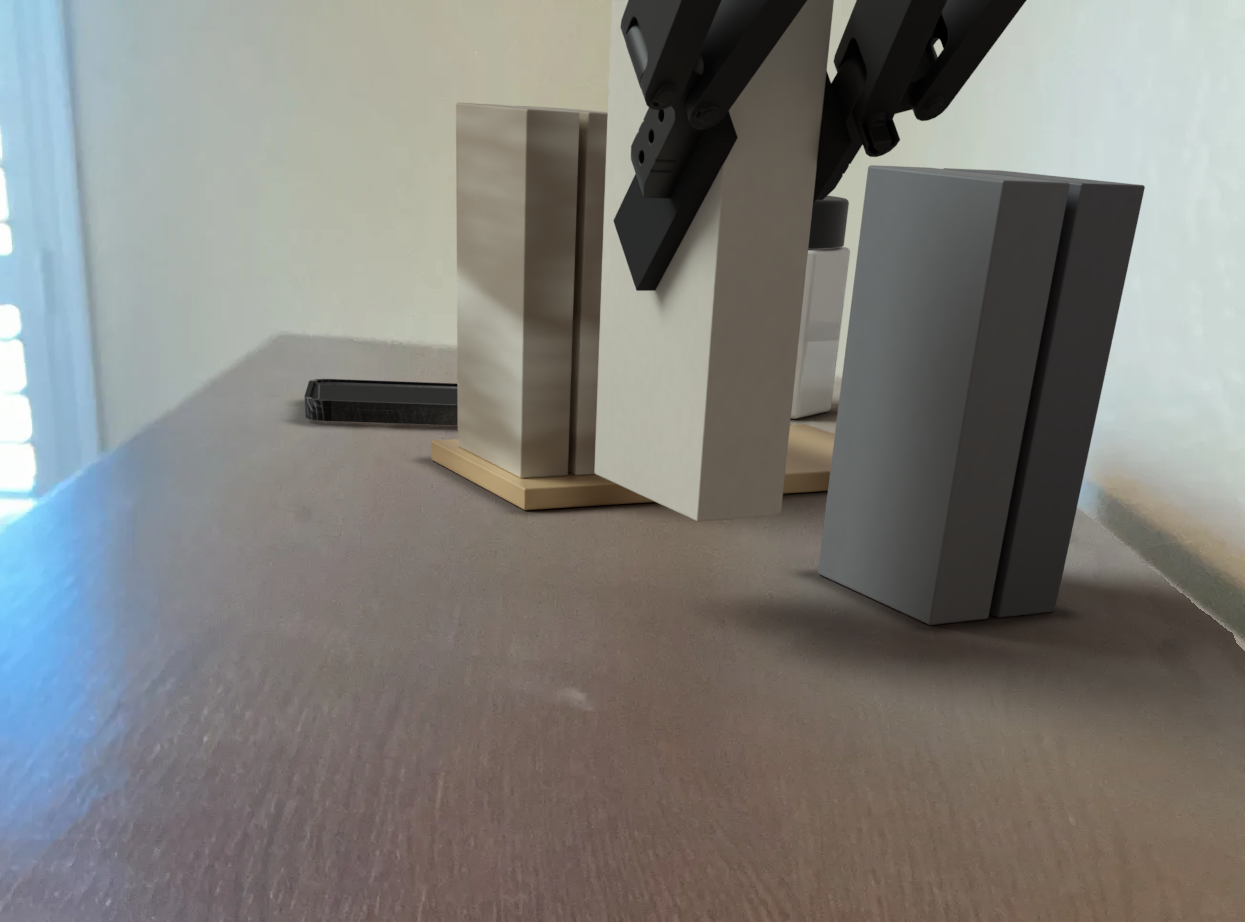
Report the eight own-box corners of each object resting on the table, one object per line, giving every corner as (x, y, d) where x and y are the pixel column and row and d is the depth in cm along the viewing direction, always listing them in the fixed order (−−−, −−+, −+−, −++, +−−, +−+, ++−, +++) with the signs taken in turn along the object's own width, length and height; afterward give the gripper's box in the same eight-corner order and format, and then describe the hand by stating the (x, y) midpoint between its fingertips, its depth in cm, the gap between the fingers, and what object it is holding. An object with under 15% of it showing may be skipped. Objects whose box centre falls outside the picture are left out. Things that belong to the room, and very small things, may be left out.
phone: (309, 378, 94) (552, 386, 96) (311, 398, 95) (551, 406, 96) (303, 400, 88) (563, 408, 89) (304, 421, 88) (562, 429, 90)
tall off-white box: (672, 469, 60) (702, -2, 52) (781, 515, 55) (835, -5, 46) (593, 474, 59) (611, -9, 50) (696, 522, 53) (736, -14, 45)
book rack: (803, 442, 91) (840, 123, 82) (925, 485, 83) (981, 133, 74) (430, 460, 82) (425, 100, 73) (524, 511, 73) (531, 110, 64)
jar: (829, 402, 104) (853, 196, 97) (832, 423, 97) (859, 203, 91) (698, 392, 105) (714, 187, 98) (692, 413, 98) (708, 194, 91)
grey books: (936, 563, 69) (1001, 171, 60) (1055, 612, 63) (1146, 185, 54) (816, 574, 66) (867, 165, 58) (929, 626, 60) (1003, 180, 52)
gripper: (871, -502, 28) (500, 358, 49) (1467, -356, 35) (913, 347, 56) (747, -833, 29) (435, 154, 50) (1353, -628, 35) (850, 167, 57)
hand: (688, 255), depth 53 cm, fingers closed on tall off-white box, 3 cm apart
